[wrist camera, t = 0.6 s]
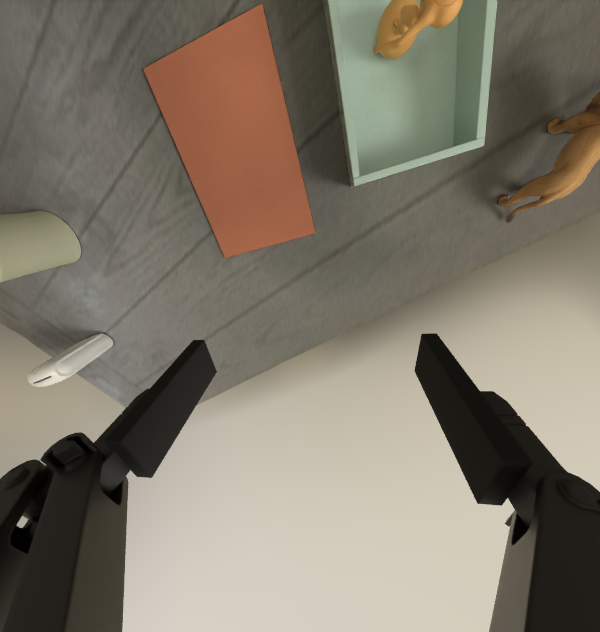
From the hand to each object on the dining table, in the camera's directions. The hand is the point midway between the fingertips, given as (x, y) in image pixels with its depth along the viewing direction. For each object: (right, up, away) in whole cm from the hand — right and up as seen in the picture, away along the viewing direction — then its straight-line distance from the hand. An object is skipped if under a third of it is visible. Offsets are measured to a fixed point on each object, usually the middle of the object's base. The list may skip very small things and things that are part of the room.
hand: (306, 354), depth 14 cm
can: (-45, +17, +27) cm, 55 cm away
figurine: (+10, +31, +11) cm, 35 cm away
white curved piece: (-49, -4, +39) cm, 62 cm away
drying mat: (-9, +24, +17) cm, 31 cm away
